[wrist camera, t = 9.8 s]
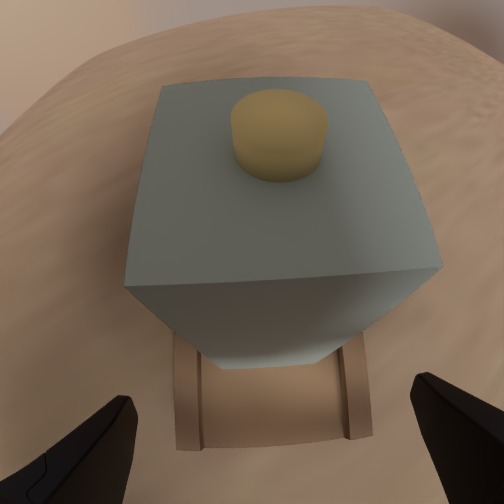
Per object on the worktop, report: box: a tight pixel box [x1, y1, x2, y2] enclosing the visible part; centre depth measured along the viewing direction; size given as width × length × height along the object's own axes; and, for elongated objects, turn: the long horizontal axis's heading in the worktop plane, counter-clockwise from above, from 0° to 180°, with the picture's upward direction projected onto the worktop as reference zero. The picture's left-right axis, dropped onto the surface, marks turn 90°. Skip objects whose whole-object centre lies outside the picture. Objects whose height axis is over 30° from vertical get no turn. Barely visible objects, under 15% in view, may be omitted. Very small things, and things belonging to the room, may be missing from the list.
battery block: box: [124, 77, 443, 369], centre depth 11 cm, size 5×5×14 cm
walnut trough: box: [174, 331, 373, 451], centre depth 17 cm, size 14×10×2 cm
